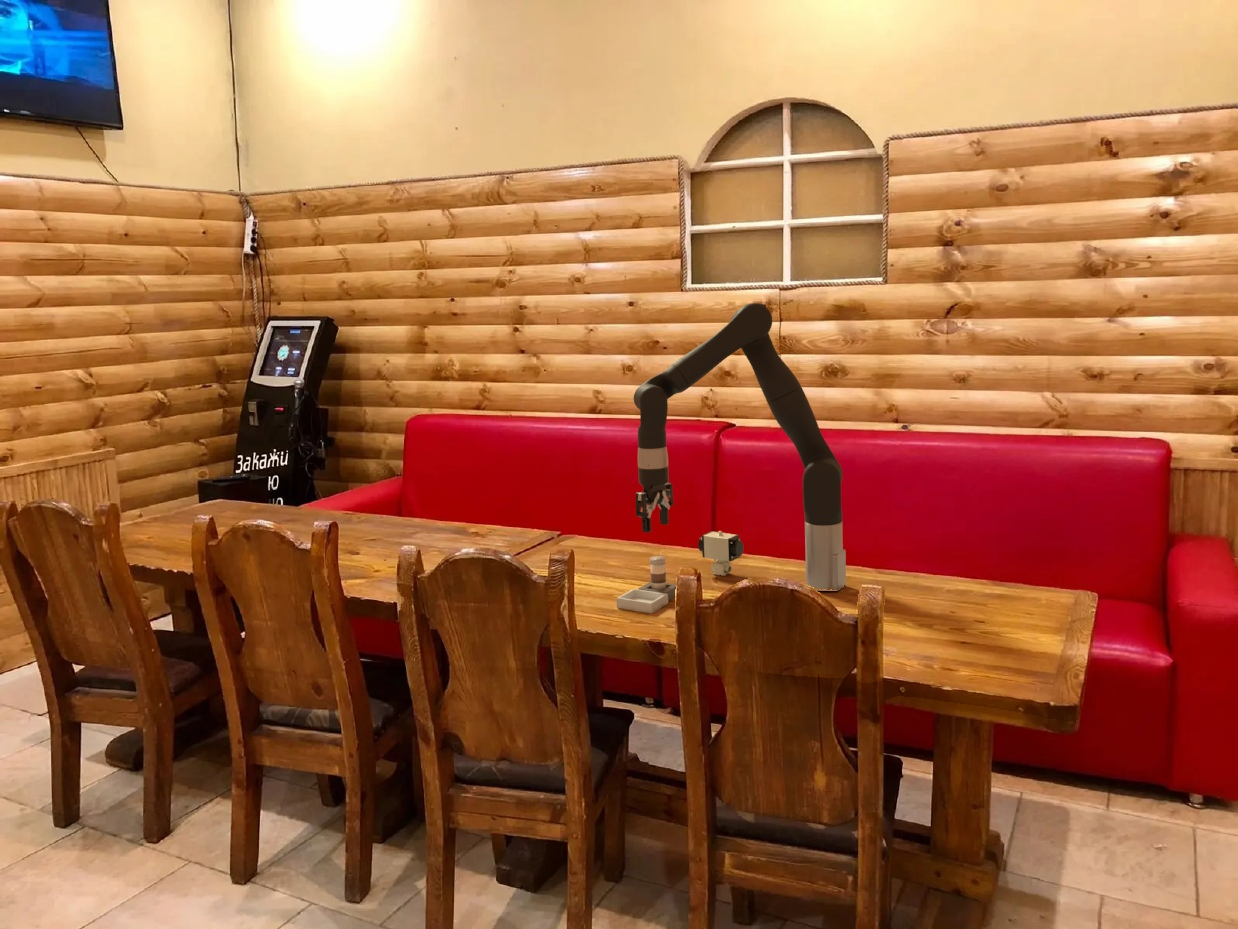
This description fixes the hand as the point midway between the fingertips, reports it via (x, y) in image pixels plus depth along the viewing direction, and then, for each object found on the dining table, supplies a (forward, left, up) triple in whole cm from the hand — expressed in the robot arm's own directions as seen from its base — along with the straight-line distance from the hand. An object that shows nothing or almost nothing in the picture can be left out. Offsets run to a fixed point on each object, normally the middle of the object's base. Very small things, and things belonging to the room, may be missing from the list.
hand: (655, 528), depth 237 cm
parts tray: (0, +8, -18) cm, 20 cm away
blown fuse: (0, 0, -18) cm, 18 cm away
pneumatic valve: (-6, -23, -18) cm, 30 cm away
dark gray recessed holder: (0, 0, -18) cm, 18 cm away
